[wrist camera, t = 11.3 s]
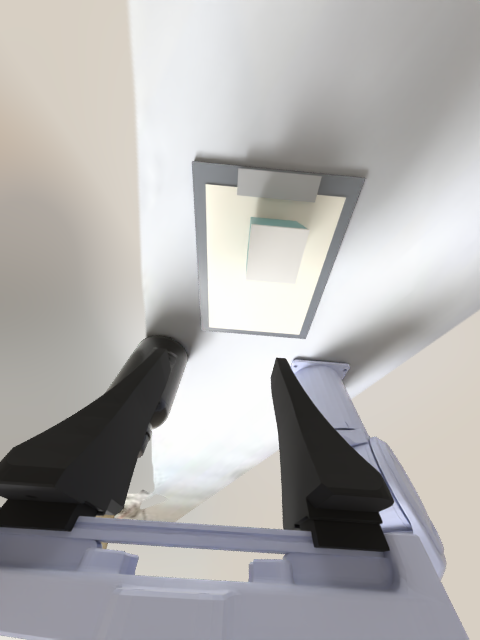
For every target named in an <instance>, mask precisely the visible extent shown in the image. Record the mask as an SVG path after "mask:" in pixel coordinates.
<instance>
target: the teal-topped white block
mask: <svg viewBox="0 0 480 640" xmlns="http://www.w3.org/2000/svg"><path fill="white" fill-rule="evenodd" d="M309 231H310V230H309V229H307V228H306V227H304V226H303V225H301V224H300V223H298V222H297V221H291V220H280V219H269V218H258V217H251V218H250V229H249V239H248V249H247V259H246V280H252V281H263V282H275V283H286V284H295V283H296V279H297V275H298V272H299V268H300V264H301V261H302V257H303V253H304V249H305V246H306V242H307V238H308V234H309Z"/></svg>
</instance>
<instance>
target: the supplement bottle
mask: <svg viewBox="0 0 480 640" xmlns="http://www.w3.org/2000/svg"><path fill="white" fill-rule="evenodd" d="M157 348H161V349H167V353H168V357H169V362H170V367H171V372H170V375H169V378H168V381H167V384H166V387H165V389H164V391H163V393H162V396H161V398H160V400H159V402H158V405H157V407H156V409H155V411H154V413H153V416H152V418H151V420H150V423H149V425H148V428H147V431H146V434H145V437H144V440H143V443H142V446H141V449H140V452H139V455H138V458H139V457H141V456H142V455H143V453H144V451H145V448H146V446H147V443H148V441H149V440H150V438H151V436H152V431H151V430H152V429H155V428H157V427H159V426H160V425H162V424H163V423H164V422H165V421H166V419H167V418H168V415H169V413H170V410H171V407H172V404H173V401H174V398H175V395H176V393H177V390H178V387H179V384H180V381H181V378H182V375H183V372H184V369H185V366H186V363H187V353H186V351H185V349H184V348H183V346H182V345H181V344H179V343H178V342H177V341H175V340H173V339H171V338H168V337H164V336H151V337H148V338H145V339H144V340H142V341H141V342H140V343H139V345H138V346H137V348H136V349H135V350H134V352H133V354H132V355H131V356H130V358H129V359H128V361H127V362H126V363H125V365H124V366H123V368H122V369H121V371H120V372H119V374H118V375H117V377H116V378H115V380H114V381H113V382H112V384H111V386H110V387H109V388H108V390H107V391H106V392H108V391H109V390H110V389H112V388H113V387H114V386H115V385H117V384H118V383H119V382H120V381H121V380H123V379H124V378H125V377H126V376H127V375H129V374H130V373H131V372H132V371H133V370H134V369H135V368H136V367H138V366H139V365H140V364H141V363H142V362H143V361H144V360H145V359H146V358H147V357H148V356H149V355H150V354H152V353H153V352H154V351H155V350H156V349H157Z"/></svg>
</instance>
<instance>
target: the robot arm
mask: <svg viewBox="0 0 480 640" xmlns="http://www.w3.org/2000/svg"><path fill="white" fill-rule="evenodd" d="M349 369H350V365H349V364H346V363H333V362H321V361H309V360H294V361H293V362H292V364H291V367H290V365H289V363H288V362H287V360H286V359H285V358H276V360H275V364H274V368H273V371H272V375H271V390H272V398H273V404H274V410H275V416H276V422H277V428H278V437H279V450H280V464H281V483H282V508H283V528H284V530H282V529H266V528H251V527H236V526H221V525H206V524H205V525H204V524H190V523H176V522H161V521H146V520H131V519H116V518H101V517H96V516H104V515H116V514H118V513H119V512H120V511H121V510H122V509H123V508H124V504H125V500H126V496H127V492H128V489H129V485H130V482H131V478H132V475H133V472H134V468H135V465H136V462H137V458H138V455H139V452H140V449H141V446H142V443H143V440H144V437H145V434H146V431H147V428H148V425H149V423H150V420H151V418H152V416H153V413H154V411H155V409H156V407H157V405H158V402H159V400H160V398H161V396H162V393H163V391H164V389H165V387H166V384H167V381H168V378H169V375H170V372H171V367H170V362H169V357H168V353H167V349H161V348H157V349H156V350H155V351H154V352H153V353H152V354H150V355H149V356H148V357H147V358H146V359H145V360H144V361H143V362H142V363H141V364H140V365H139V366H138V367H136V368H135V369H134V370H133V371H132V372H131V373H130V374H129V375H127V376H126V377H125V378H124V379H123V380H121V381H120V382H119V383H118V384H117V385H115V386H114V387H113V388H112V389H110V390H109V391H108V392H106V393H105V394H104V395H102V396H101V397H99V398H98V399H97V400H95V401H94V402H92V403H91V404H89V405H88V406H86V407H85V408H83V409H82V410H80V411H78V412H77V413H75V414H74V415H72V416H71V417H69V418H67V419H66V420H64V421H62V422H60V423H59V424H57V425H55V426H53V427H52V428H50V429H48V430H46V431H44V432H43V433H41V434H39V435H37V436H35V437H33V438H31V439H30V440H27V441H25V442H23V443H21V444H20V445H18V446H16V447H14V448H12V450H11V451H10V452H9V453H8V454H7V455H6V456H5V457H4V458H3V459H2V461H1V462H0V496H2V497H4V498H7V499H8V500H7V501H6V503H5V504H4V505H3V506H2V507H0V635H1V636H7V637H14V638H21V639H27V640H469V638H468V636H467V634H466V632H465V630H464V628H463V626H462V623H461V621H460V619H459V617H458V615H457V613H456V611H455V609H454V607H453V605H452V603H451V601H450V599H449V597H448V595H447V593H446V591H445V589H444V587H443V585H442V583H441V579H442V577H443V574H444V572H445V568H446V560H445V556H444V547H443V544H442V542H441V539H440V537H439V535H438V533H437V531H436V529H435V527H434V525H433V523H432V522H431V520H430V518H429V516H428V514H427V512H426V510H425V508H424V506H423V503H422V501H421V500H420V497H419V496H418V494H417V492H416V490H415V488H414V486H413V485H412V483H411V481H410V479H409V477H408V476H407V474H406V472H405V471H404V469H403V467H402V465H401V464H400V462H399V461H398V459H397V458H396V456H395V455H394V453H393V451H392V450H391V449H390V447H389V446H388V445H387V443H385V442H384V441H382V440H380V439H379V438H377V437H372V438H370V436H369V435H368V434H367V431H366V429H365V427H364V425H363V423H362V421H361V419H360V417H359V415H358V413H357V411H356V409H355V407H354V405H353V403H352V401H351V399H350V397H349V394H348V392H347V390H346V388H345V386H344V384H343V382H342V380H343V378H344V377H345V375H346V373H347V372H348V370H349ZM100 542H104V543H121V544H136V545H151V546H166V547H183V548H197V549H198V548H199V549H213V550H229V551H230V550H231V551H244V552H260V553H275V554H276V553H277V554H286V555H285V556H284V557H283V560H277V559H272V560H271V559H254V561H253V562H251V563H250V564H249V582H237V581H221V580H205V579H189V578H188V579H187V578H172V577H156V576H140V575H135V569H136V566H137V562H138V559H139V557H138V555H133V554H129V553H126V552H125V551H118V550H108V549H102V543H100Z"/></svg>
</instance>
